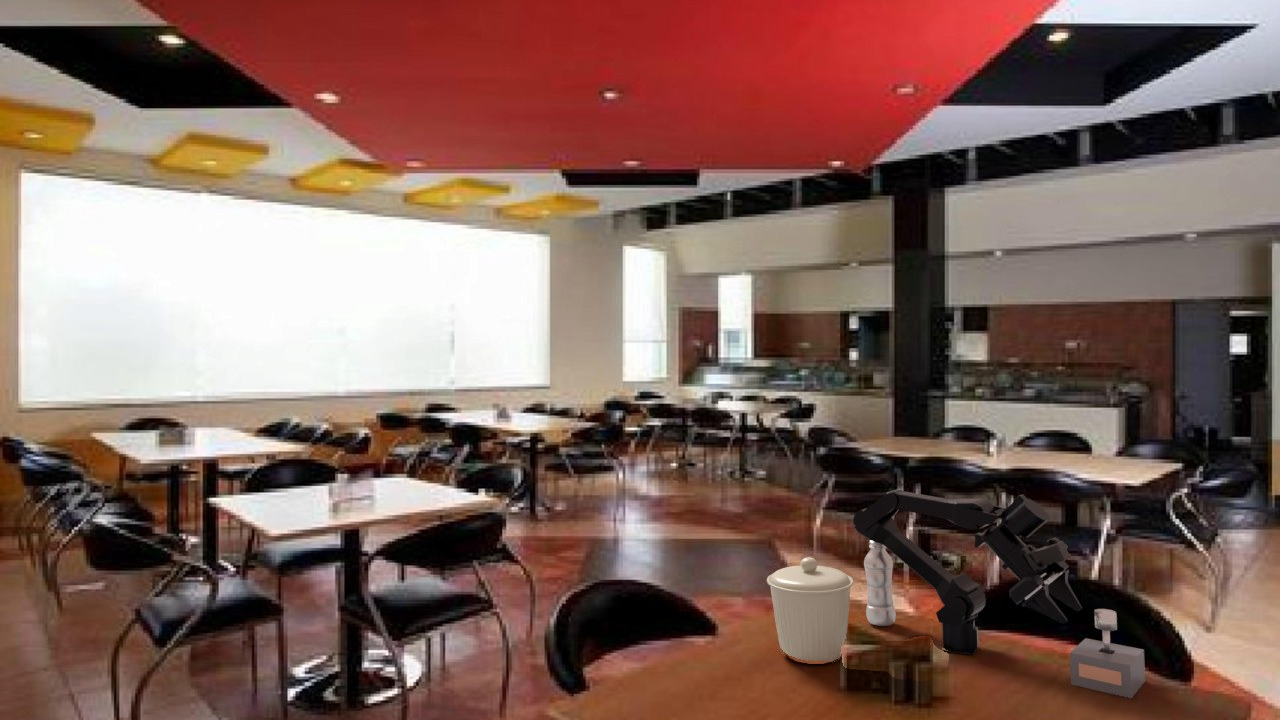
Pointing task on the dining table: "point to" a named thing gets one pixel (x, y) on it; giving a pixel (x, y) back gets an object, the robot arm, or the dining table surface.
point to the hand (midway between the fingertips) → (1073, 615)
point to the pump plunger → (1105, 625)
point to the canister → (811, 610)
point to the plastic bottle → (879, 586)
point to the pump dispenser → (1107, 668)
